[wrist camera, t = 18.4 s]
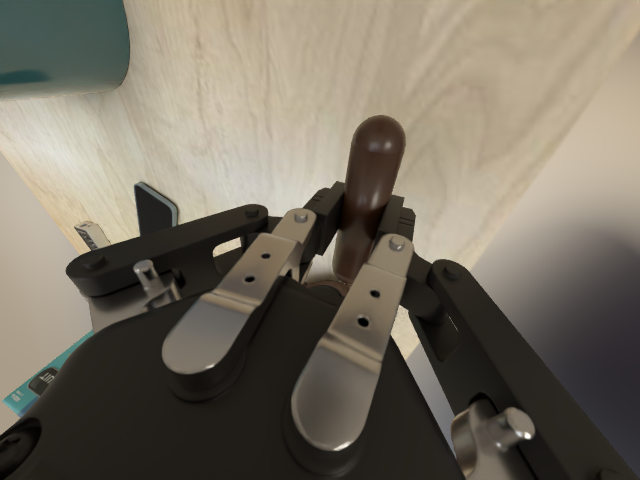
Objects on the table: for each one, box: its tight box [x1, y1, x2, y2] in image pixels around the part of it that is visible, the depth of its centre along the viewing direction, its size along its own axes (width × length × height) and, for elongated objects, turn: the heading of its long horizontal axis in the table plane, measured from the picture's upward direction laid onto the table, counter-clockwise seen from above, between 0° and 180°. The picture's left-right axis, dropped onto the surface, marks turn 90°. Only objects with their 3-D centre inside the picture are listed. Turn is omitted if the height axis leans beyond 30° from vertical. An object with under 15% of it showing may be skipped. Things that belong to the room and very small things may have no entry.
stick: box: [332, 115, 406, 284], centre depth 12 cm, size 9×2×2 cm, turn 175°
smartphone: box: [134, 183, 177, 236], centre depth 42 cm, size 7×1×15 cm
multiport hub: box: [74, 221, 111, 251], centre depth 55 cm, size 4×11×2 cm, turn 0°
